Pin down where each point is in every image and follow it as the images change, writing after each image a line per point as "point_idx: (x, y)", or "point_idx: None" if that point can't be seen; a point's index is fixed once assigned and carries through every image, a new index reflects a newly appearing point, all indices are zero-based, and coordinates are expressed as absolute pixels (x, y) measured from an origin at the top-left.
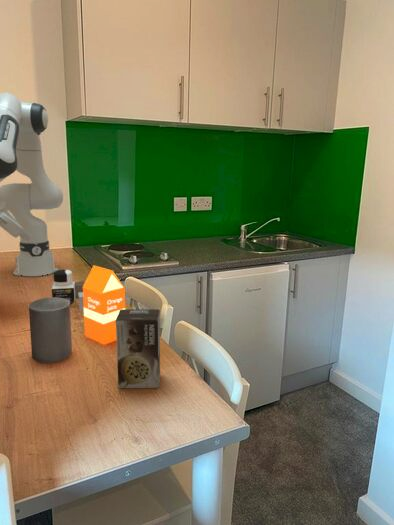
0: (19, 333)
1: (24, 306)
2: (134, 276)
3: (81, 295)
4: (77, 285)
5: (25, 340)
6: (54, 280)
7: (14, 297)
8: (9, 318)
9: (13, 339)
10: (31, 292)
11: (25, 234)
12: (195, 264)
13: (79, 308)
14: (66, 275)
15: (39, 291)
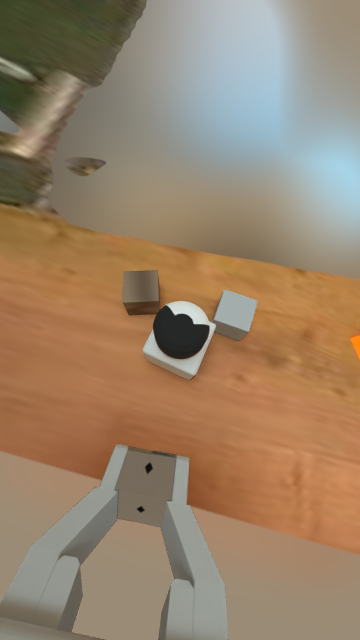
0: (308, 502)
1: (137, 434)
2: (95, 167)
3: (239, 322)
4: (157, 298)
5: (352, 502)
6: (182, 358)
7: (49, 435)
8: (201, 495)
9: (337, 526)
10: (41, 383)
11: (191, 520)
12: (104, 65)
13: (237, 338)
14: (208, 327)
15: (48, 363)
